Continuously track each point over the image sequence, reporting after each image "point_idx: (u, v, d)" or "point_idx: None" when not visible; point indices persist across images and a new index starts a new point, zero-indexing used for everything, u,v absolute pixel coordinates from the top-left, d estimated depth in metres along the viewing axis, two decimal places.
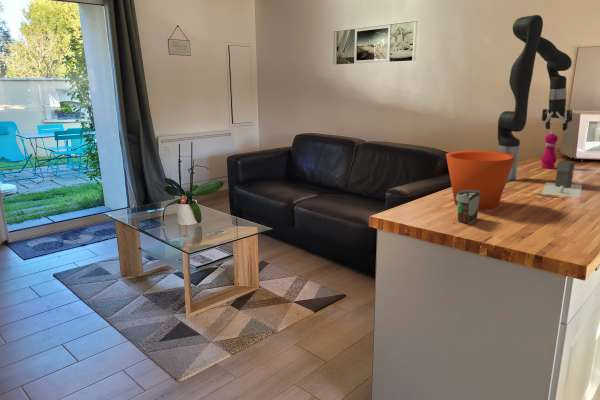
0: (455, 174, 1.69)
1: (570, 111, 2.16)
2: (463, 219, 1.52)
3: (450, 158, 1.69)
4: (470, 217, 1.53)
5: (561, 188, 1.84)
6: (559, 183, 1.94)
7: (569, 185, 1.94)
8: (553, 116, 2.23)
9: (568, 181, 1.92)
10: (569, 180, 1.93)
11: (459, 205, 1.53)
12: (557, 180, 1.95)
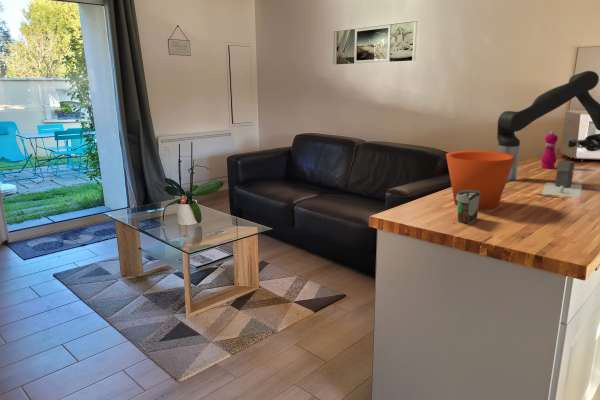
0: (455, 174, 1.69)
1: None
2: (463, 219, 1.52)
3: (450, 158, 1.69)
4: (470, 217, 1.53)
5: (561, 188, 1.84)
6: (559, 183, 1.94)
7: (569, 185, 1.94)
8: (585, 141, 2.02)
9: (568, 181, 1.92)
10: (569, 180, 1.93)
11: (459, 205, 1.53)
12: (557, 180, 1.95)
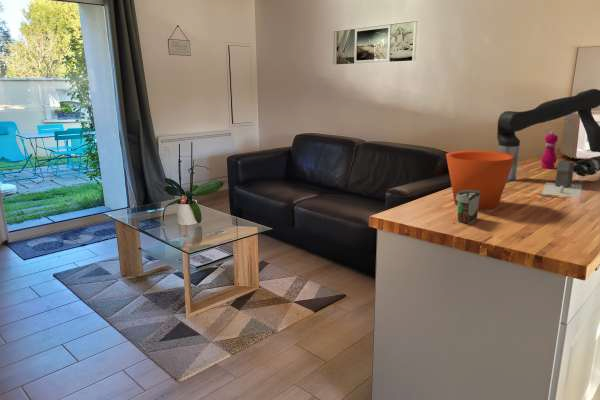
0: (455, 174, 1.69)
1: (596, 170, 1.96)
2: (463, 219, 1.52)
3: (450, 158, 1.69)
4: (470, 217, 1.53)
5: (561, 188, 1.84)
6: (559, 183, 1.94)
7: (569, 185, 1.94)
8: (575, 167, 2.01)
9: (568, 181, 1.92)
10: (569, 180, 1.93)
11: (459, 205, 1.53)
12: (557, 180, 1.95)
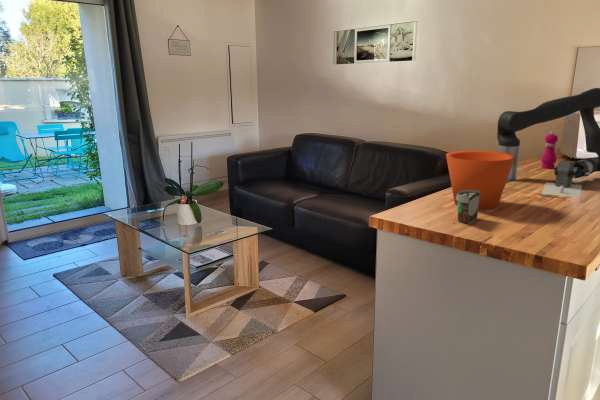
0: (455, 174, 1.69)
1: (588, 173, 1.92)
2: (463, 219, 1.52)
3: (450, 158, 1.69)
4: (470, 217, 1.53)
5: (561, 188, 1.84)
6: (559, 183, 1.94)
7: (569, 185, 1.94)
8: None
9: (568, 181, 1.92)
10: (569, 180, 1.93)
11: (459, 205, 1.53)
12: (557, 180, 1.95)
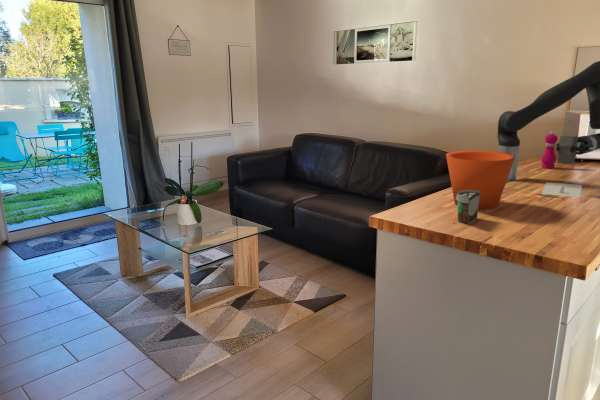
0: (455, 174, 1.69)
1: (592, 148, 1.78)
2: (463, 219, 1.52)
3: (450, 158, 1.69)
4: (470, 217, 1.53)
5: (561, 188, 1.84)
6: (561, 159, 1.81)
7: (572, 161, 1.80)
8: None
9: (571, 157, 1.79)
10: (572, 156, 1.79)
11: (459, 205, 1.53)
12: (559, 156, 1.81)
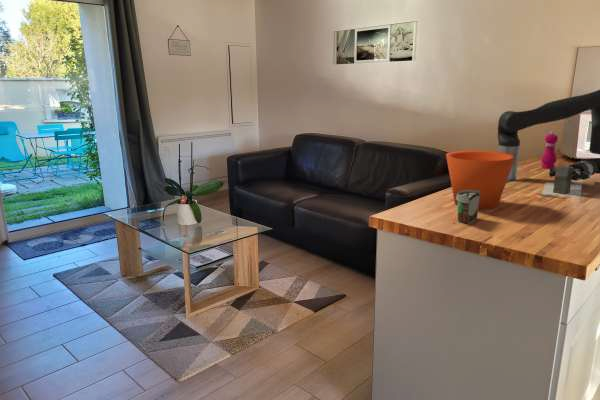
0: (455, 174, 1.69)
1: (589, 175, 1.82)
2: (463, 219, 1.52)
3: (450, 158, 1.69)
4: (470, 217, 1.53)
5: None
6: (557, 189, 1.84)
7: (568, 191, 1.83)
8: None
9: (566, 187, 1.82)
10: (568, 186, 1.82)
11: (459, 205, 1.53)
12: (555, 186, 1.84)
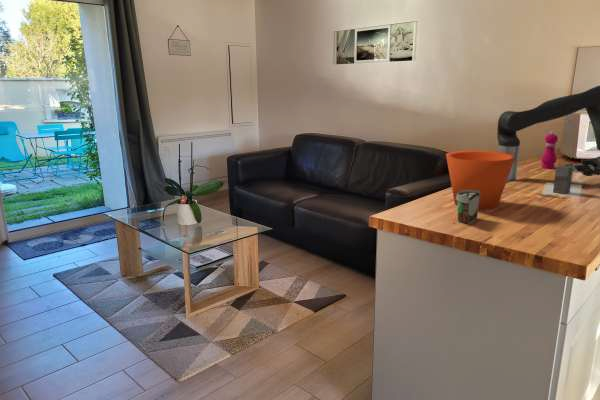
0: (455, 174, 1.69)
1: None
2: (463, 219, 1.52)
3: (450, 158, 1.69)
4: (470, 217, 1.53)
5: None
6: (557, 189, 1.84)
7: (568, 191, 1.83)
8: (581, 166, 1.93)
9: (566, 187, 1.82)
10: (568, 186, 1.82)
11: (459, 205, 1.53)
12: (555, 186, 1.84)
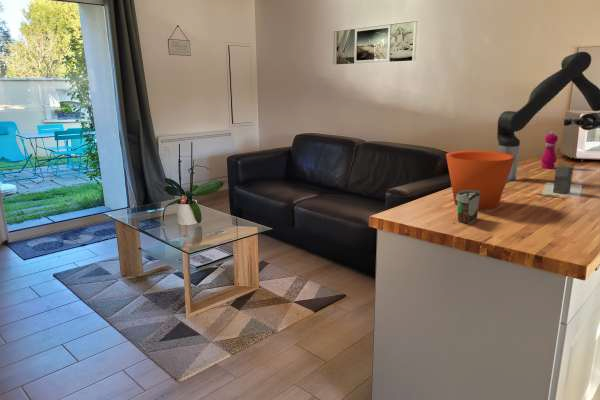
0: (455, 174, 1.69)
1: None
2: (463, 219, 1.52)
3: (450, 158, 1.69)
4: (470, 217, 1.53)
5: None
6: (557, 189, 1.84)
7: (568, 191, 1.83)
8: (580, 120, 1.99)
9: (566, 187, 1.82)
10: (568, 186, 1.82)
11: (459, 205, 1.53)
12: (555, 186, 1.84)
